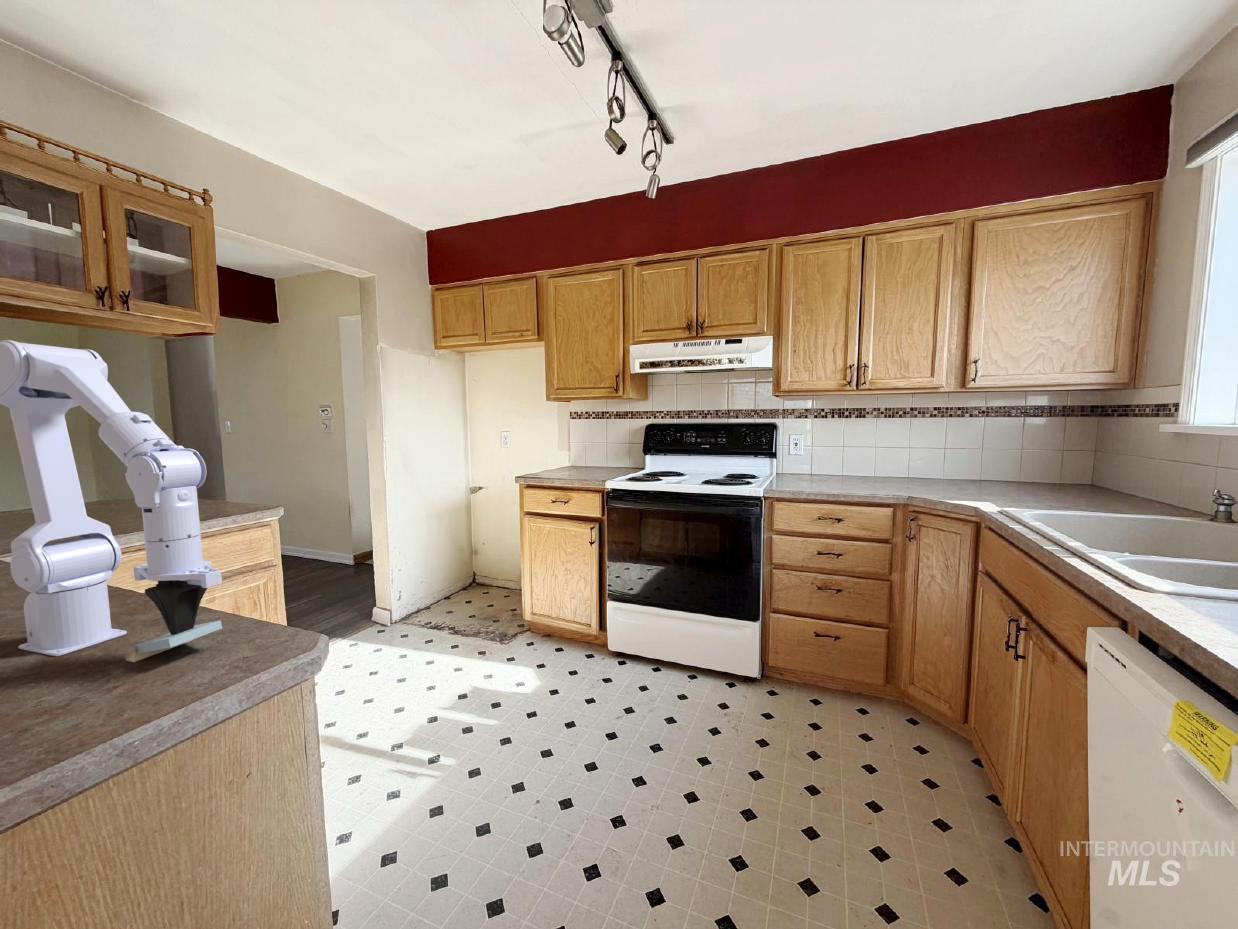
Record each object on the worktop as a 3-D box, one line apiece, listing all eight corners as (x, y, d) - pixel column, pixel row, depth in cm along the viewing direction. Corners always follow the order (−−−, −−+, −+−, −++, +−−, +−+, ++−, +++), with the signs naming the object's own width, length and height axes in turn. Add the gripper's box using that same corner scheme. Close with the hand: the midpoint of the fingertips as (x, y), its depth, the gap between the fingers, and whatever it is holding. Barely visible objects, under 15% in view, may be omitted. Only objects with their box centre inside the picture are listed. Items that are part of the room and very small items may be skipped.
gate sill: (125, 660, 67) (125, 652, 67) (184, 639, 74) (183, 631, 74) (134, 662, 66) (133, 653, 66) (192, 640, 73) (191, 632, 73)
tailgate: (134, 645, 67) (168, 638, 64) (187, 626, 73) (220, 620, 70) (136, 654, 67) (170, 647, 64) (189, 634, 73) (222, 628, 70)
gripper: (241, 533, 69) (249, 626, 70) (171, 529, 73) (180, 616, 74) (184, 545, 62) (193, 648, 63) (111, 539, 67) (121, 636, 68)
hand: (182, 632), depth 68 cm, fingers closed, pressing on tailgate
